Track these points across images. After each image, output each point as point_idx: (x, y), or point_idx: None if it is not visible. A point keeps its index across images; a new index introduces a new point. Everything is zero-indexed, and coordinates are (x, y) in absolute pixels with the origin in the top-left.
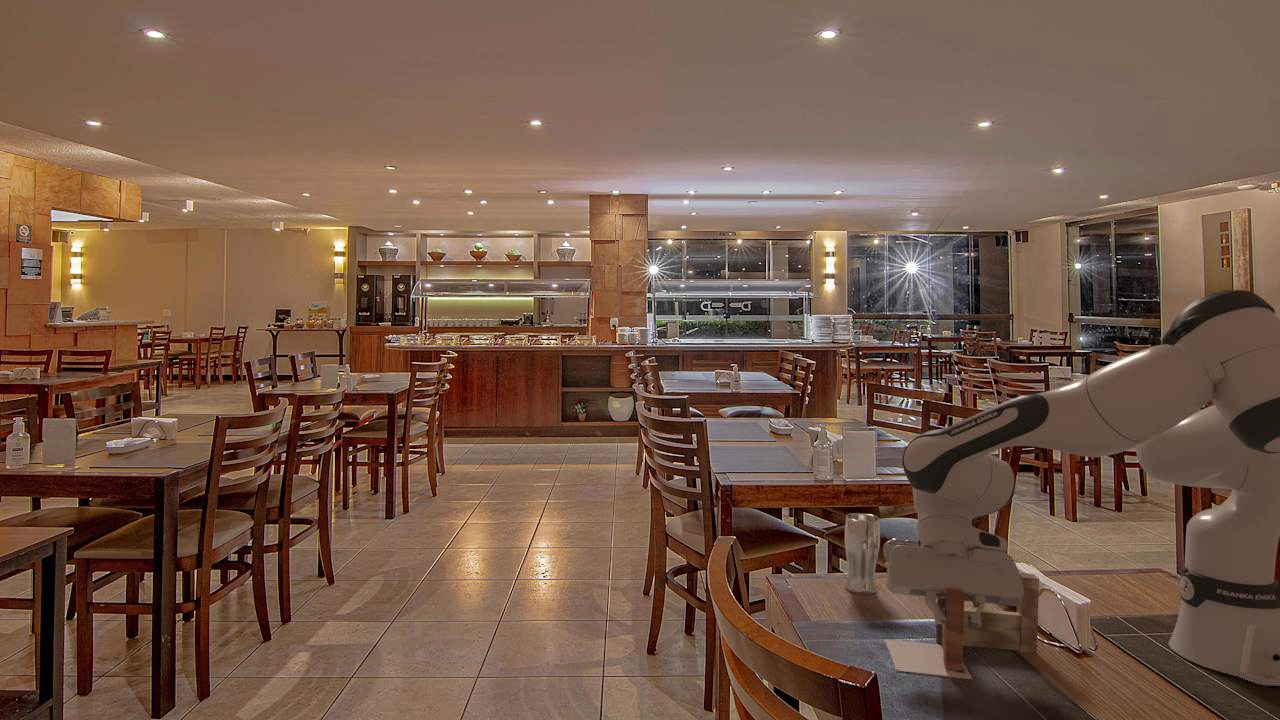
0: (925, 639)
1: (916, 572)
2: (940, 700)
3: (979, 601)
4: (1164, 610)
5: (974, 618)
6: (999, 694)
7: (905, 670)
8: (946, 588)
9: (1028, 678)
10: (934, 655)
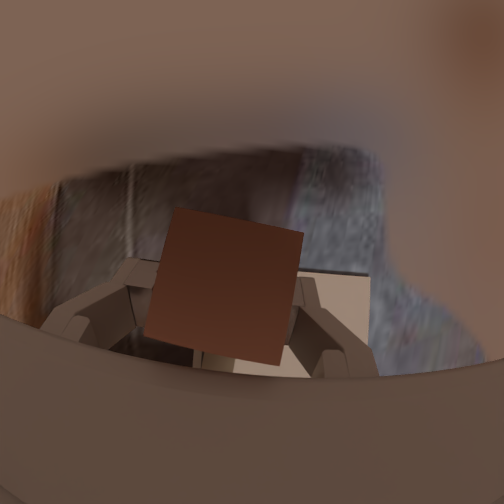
0: None
1: (476, 451)
2: (303, 171)
3: (75, 317)
4: None
5: (146, 268)
6: (170, 205)
7: (351, 280)
8: (284, 326)
9: (79, 282)
10: (257, 373)
